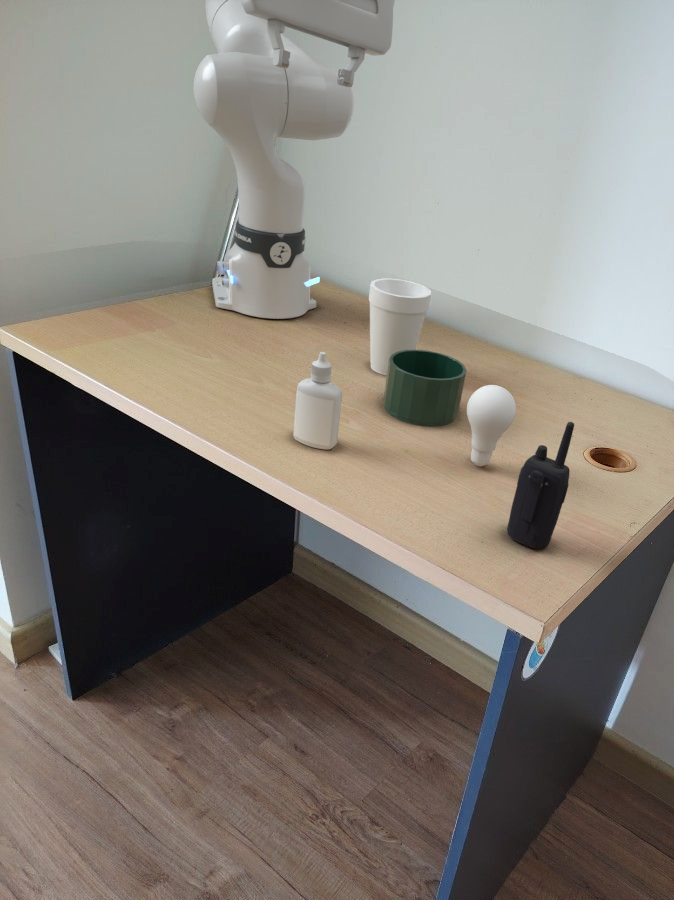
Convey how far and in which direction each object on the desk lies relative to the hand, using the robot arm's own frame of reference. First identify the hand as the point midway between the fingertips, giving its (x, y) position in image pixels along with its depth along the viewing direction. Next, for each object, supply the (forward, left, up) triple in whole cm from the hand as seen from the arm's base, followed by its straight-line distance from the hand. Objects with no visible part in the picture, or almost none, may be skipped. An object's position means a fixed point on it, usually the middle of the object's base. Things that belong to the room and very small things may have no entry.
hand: (313, 76), depth 98 cm
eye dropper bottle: (+27, -7, -39) cm, 48 cm away
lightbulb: (+37, +12, -39) cm, 55 cm away
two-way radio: (+54, +8, -39) cm, 67 cm away
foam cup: (+5, +14, -39) cm, 42 cm away
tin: (+20, +12, -39) cm, 45 cm away
